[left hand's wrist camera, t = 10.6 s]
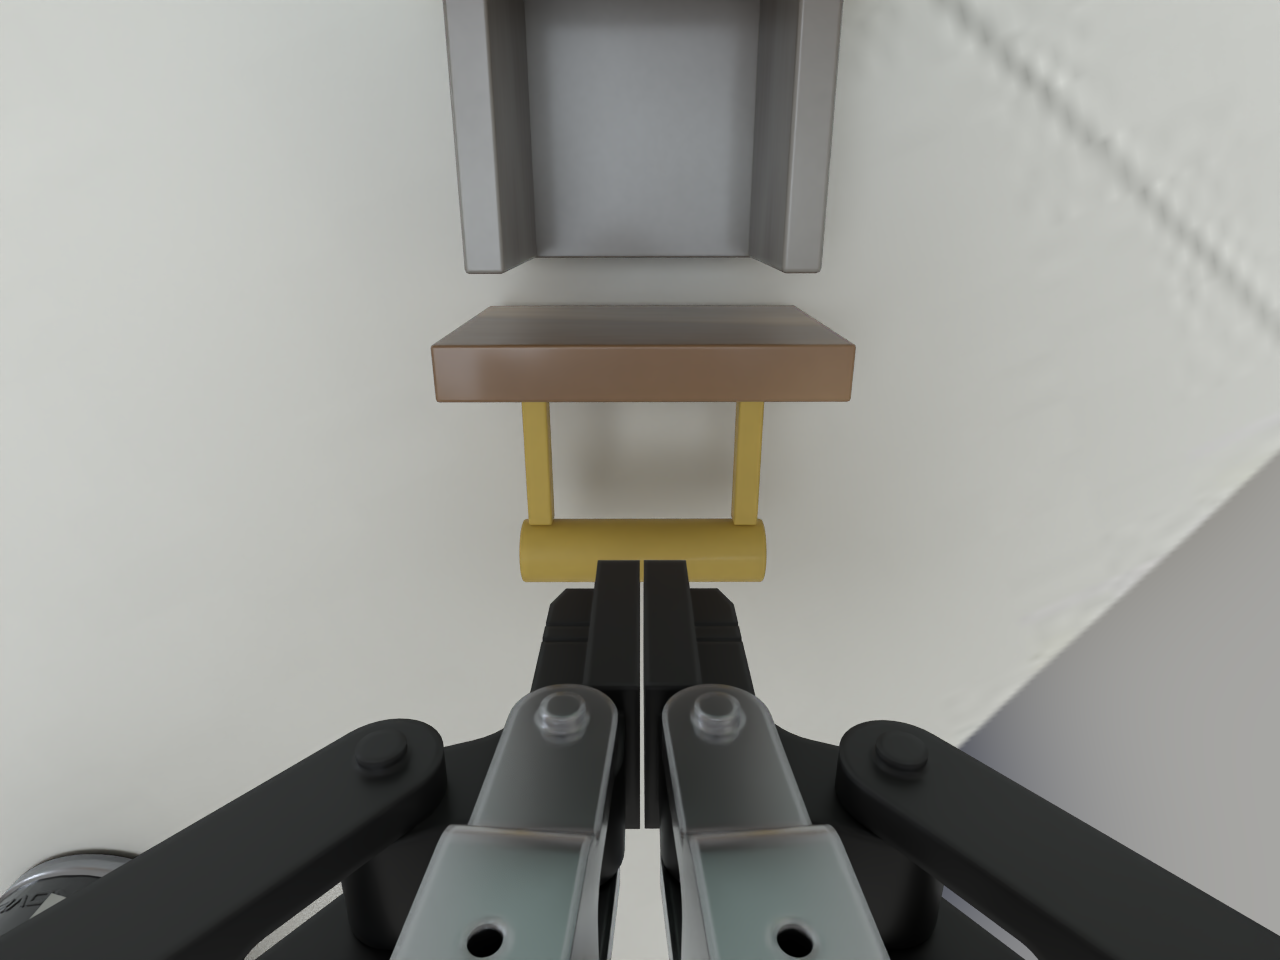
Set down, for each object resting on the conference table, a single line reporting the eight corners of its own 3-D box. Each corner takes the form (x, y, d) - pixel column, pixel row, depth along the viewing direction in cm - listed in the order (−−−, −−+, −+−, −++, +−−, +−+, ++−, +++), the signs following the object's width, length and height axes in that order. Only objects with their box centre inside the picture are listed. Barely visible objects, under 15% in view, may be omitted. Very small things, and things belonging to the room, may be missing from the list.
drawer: (780, 520, 23) (828, 628, 17) (504, 520, 23) (458, 628, 17) (844, -388, 16) (968, -746, 10) (439, -387, 16) (318, -743, 10)
